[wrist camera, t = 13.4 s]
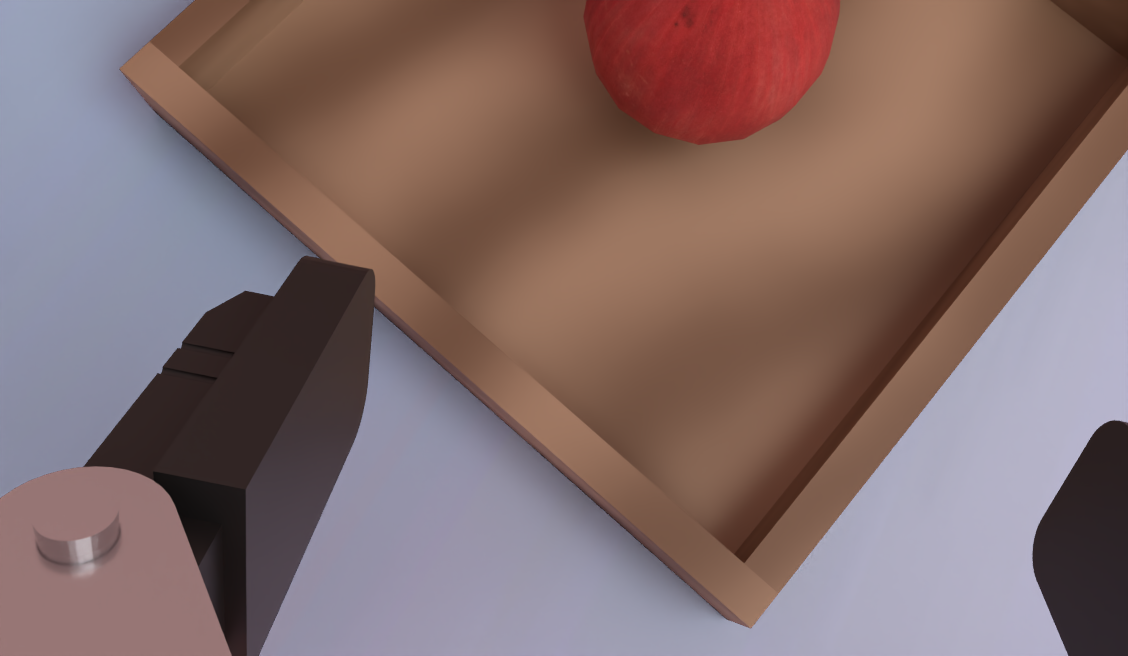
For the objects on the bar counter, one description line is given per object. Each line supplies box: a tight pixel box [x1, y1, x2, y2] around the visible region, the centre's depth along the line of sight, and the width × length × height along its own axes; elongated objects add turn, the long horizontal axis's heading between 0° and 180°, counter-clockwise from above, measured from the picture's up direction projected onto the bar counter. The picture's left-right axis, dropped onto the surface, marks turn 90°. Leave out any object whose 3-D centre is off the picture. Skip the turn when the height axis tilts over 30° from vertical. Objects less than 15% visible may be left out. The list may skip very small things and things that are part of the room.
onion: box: [583, 0, 840, 145], centre depth 22 cm, size 6×6×8 cm
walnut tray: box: [120, 0, 1128, 628], centre depth 26 cm, size 20×20×2 cm
